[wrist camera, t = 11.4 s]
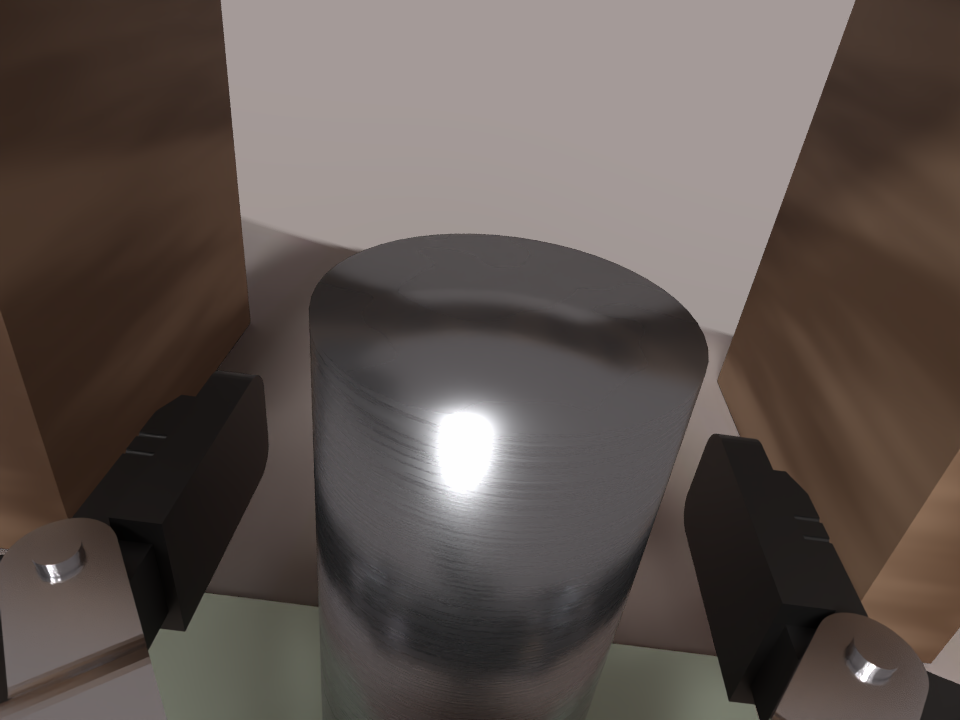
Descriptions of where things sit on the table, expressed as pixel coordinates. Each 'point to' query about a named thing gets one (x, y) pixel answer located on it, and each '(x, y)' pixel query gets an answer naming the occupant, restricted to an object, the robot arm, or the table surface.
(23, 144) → the shelf
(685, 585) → the table surface
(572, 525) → the canister
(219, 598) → the mat
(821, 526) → the robot arm
